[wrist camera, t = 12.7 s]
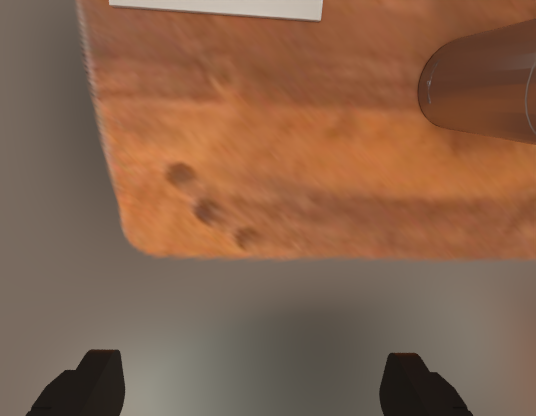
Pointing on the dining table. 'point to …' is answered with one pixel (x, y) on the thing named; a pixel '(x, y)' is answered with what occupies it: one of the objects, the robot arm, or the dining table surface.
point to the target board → (234, 7)
